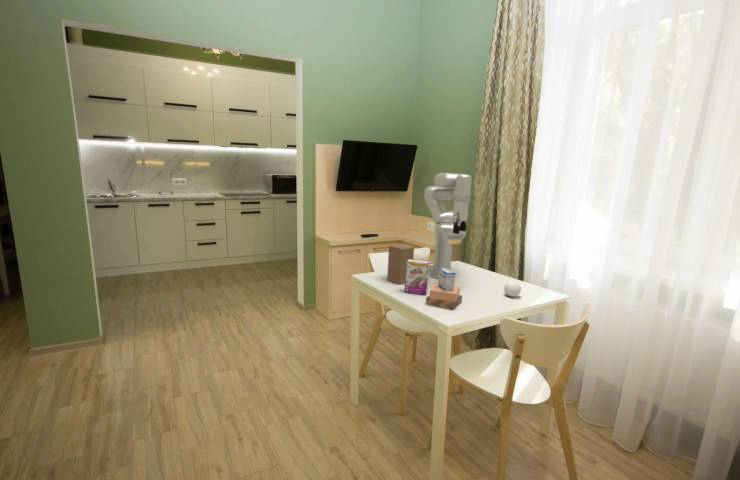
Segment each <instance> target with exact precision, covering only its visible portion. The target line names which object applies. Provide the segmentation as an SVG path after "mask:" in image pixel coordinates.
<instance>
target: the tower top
mask: <svg viewBox="0 0 740 480" xmlns="http://www.w3.org/2000/svg"><path fill="white" fill-rule="evenodd" d="M438 283H439V282H434V283H433V285H432V287H431V288H430V289H429V295H428V296H429V298H430V299H437V300H443V301H449V302H456V300H457V298H458V296H459V295H460V289H461V287H460V286H459V285H454V291H445V290H444V289H442V288H441V287H439V286H438Z"/></svg>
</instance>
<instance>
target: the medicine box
mask: <svg viewBox="0 0 740 480" xmlns="http://www.w3.org/2000/svg"><path fill="white" fill-rule="evenodd" d="M455 280H456V272H455V271H453V270H451V269H450V270H449V269H447V268H441V269H440V273H439V279H438V282H437V283H438V286H439V287H441V288H442V289H444V290H445V291H454V286H455V282H456V281H455Z"/></svg>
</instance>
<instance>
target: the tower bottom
mask: <svg viewBox="0 0 740 480" xmlns="http://www.w3.org/2000/svg"><path fill="white" fill-rule="evenodd" d="M462 302H463V295H462V294H461V295H460V294H459V296H458V298H457V300H456V302H449V301H443V300H437V299H430V298H429V295H428V296H426V300H425V305H428V306H433V307H436V308H441V309H445V310H448V311H449V310H450V311H454V310H455V309H457V307H458V306H460V304H461V303H462Z"/></svg>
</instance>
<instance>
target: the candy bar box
mask: <svg viewBox="0 0 740 480" xmlns="http://www.w3.org/2000/svg"><path fill="white" fill-rule="evenodd" d="M430 264H431V262H430V261H424V260H418V259H417V260H415V259H413V260H410V259H409V260H408V261H407V263H406V278H405V283H404V293H408V294H409V293H410V294H416V295H421V296H427V294H428V292H429V291H428V290H429V279H430V276H429V275H430V271H429V268H430V267H431V265H430Z"/></svg>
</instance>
